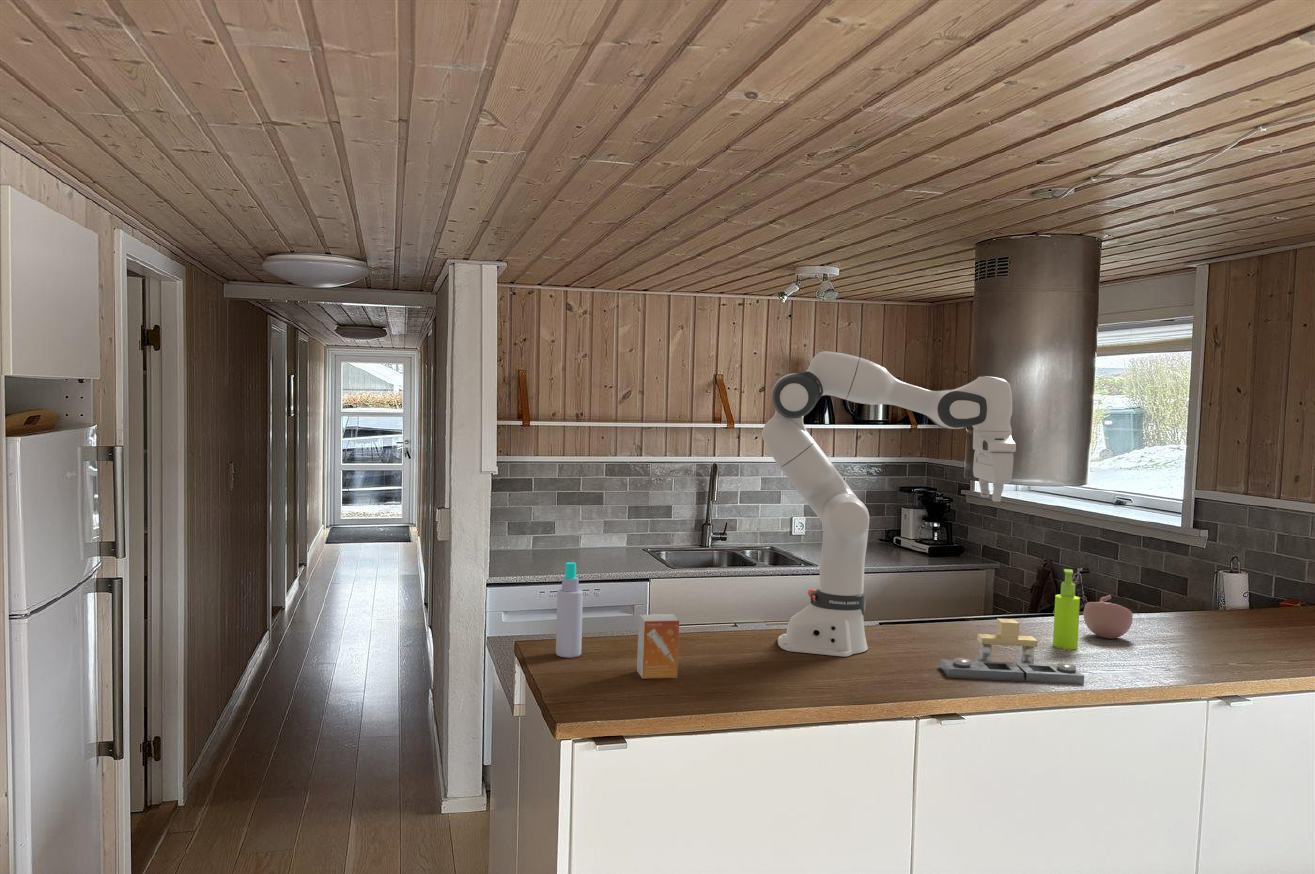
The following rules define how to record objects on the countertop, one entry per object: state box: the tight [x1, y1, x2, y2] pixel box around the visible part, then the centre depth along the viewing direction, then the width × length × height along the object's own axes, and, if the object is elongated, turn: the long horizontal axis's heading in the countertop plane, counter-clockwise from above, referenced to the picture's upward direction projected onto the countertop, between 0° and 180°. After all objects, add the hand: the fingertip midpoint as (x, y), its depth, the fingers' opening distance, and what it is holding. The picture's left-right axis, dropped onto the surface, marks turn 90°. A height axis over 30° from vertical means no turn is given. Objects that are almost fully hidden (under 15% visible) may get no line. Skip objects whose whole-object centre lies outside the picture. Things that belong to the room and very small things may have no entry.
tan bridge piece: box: [976, 617, 1039, 664], centre depth 223 cm, size 13×4×10 cm, turn 86°
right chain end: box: [1014, 662, 1085, 685], centre depth 213 cm, size 13×8×3 cm, turn 86°
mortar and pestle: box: [1083, 594, 1134, 640], centre depth 251 cm, size 12×12×11 cm
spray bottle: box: [555, 561, 584, 659], centre depth 219 cm, size 6×6×22 cm
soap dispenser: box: [1052, 568, 1081, 650], centre depth 241 cm, size 6×7×20 cm
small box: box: [636, 613, 680, 680], centre depth 206 cm, size 8×6×13 cm
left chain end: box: [939, 657, 1025, 682], centre depth 214 cm, size 17×8×3 cm, turn 86°
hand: (990, 499), depth 226 cm, fingers open, 8 cm apart
